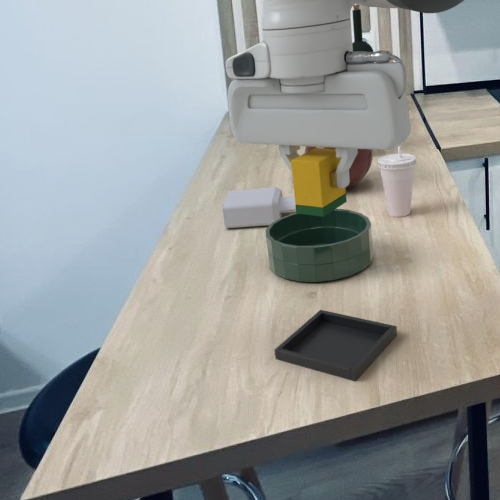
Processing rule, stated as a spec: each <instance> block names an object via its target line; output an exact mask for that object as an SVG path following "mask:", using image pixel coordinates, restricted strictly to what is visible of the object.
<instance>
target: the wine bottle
mask: <svg viewBox="0 0 500 500" xmlns="http://www.w3.org/2000/svg"><path fill="white" fill-rule="evenodd" d="M352 8H353V9H351V10H352V11H351V12H352V25H353V41H352V46H353V52H359V51H365V52H374V49H373V47H372V46H371V44H370V43H368V42H366V41H364V40H363V27H362V26H363V24H362V10H361V8H360V5H359V4H355V5H353V6H352ZM370 63H375V62H370Z"/></svg>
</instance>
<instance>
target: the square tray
mask: <svg viewBox="0 0 500 500" xmlns="http://www.w3.org/2000/svg"><path fill="white" fill-rule="evenodd" d="M397 336H398V326H397V325H392V324H389V323H383V322H379V321H374V320H371V319H365V318H360V317H356V316H352V315H347V314H342V313H339V312H333V311H328V310H325V309H324V310H323V309H319V310H318V311H317V312H316V313H315V314H314V315H313V316H311V318H309V319H308V320H307V321H306V322H304V323H303V324H302V325H301V326H300V327H298V328H297V329H296V330H295V331H294V332H293V333H292V334H290V336H289V337H287V338H286V339H285V340H283V342H281V343H280V344H279V345H278V346H277V347H276V348H274V350H273V351H274V357H275V360H277V361H281V362H285V363H288V364H291V365H295V366H298V367H303V368H306V369H309V370H313V371H316V372H320V373H324V374H327V375H330V376H335V377H338V378H342V379H344V380H348V381H352V382H357V381H358V379H360V377H362V375H363V374H364V373H365V372H366V371H367V370H368V369H369V368H370V366H372V364H373V363H374V362H375V361H376V360H377V359H378V358H379V356H380V355H381V354H382V353H383V352H384V351H385V350H386V349H387V347H389V345H391V343H392V342H393V341H394V340H395V339H396V338H397Z"/></svg>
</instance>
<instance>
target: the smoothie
mask: <svg viewBox="0 0 500 500" xmlns="http://www.w3.org/2000/svg"><path fill="white" fill-rule="evenodd" d="M417 164H418V162H417V156H416V155H414V154H411V153H402V144H401V145H400V146H398V147H397V153H393V154H387V155H383V156H381V157H379V158H378V159H377V167H378V168H379V170H380V175H381V177H380V178H381V182H382V186H383V192H384V197H385V202H386V208H387V214H388V215H389V216H390V217H393V218H402V217H407V216H409V215H410V214H411V209H412V199H413V187H414V178H415V177H414V176H415V167H416V165H417Z"/></svg>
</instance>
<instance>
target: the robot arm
mask: <svg viewBox="0 0 500 500" xmlns="http://www.w3.org/2000/svg"><path fill="white" fill-rule="evenodd" d="M464 1H465V0H262V17H261V34H262V35H261V36H262V41H261V42H259V43H257V44H255V45H252V46H251V47H249V48H246V49H245V50H242V51H240V52H238V53H235V54H234V55H232V56H230V57H228V58H227V59H226V60H225V71H226V75H227V77H228V78H230V79H231V80H232V81H231V82H230V84H229V86H228V89H227V106H228V117H229V124H230V125H229V126H230V129H231V134H232V136H233V137H234V138H235V139H236V141H237V142H238V143H240V144H251V145H252V144H253V145H274V146H278V150H279V155H280V157H281V159H282V160H283V161H284V164H286V166H287V168H288V169H289V170H290V178H291V183H292V184H293V176H292V166H291V160H292V159H295V158H297V157H299V156H300V154H299V153H298V151H300V150H301V147H306V146H311V147H331V148H335V149H336V157H337V158H341V160H340V163H339V165H338V167H337V168H336V169H334V170H333V171H331V172H329V178H330V180H331V181H330V186H331V187H333V188H345V187H347V186H348V185H349V182H350V179H349V169H350V167H351V165H352V163H353V161H354V159H355V157H356V155H357V153H358V150H357V149H371V150H374V151H393V150H395V149H398V146H400V145H401V146H402V145H404V143H405V142H406V141H407V140H408V138H409V137H410V135H411V130H412V128H411V116H410V109H409V104H408V97H407V92H406V90H407V86H408V85H407V84H408V82H407V81H408V79H407V76H408V75H407V66H406V64H405V63H404V62H403V60H402V59H401V58H400V57H399V56H398V55H395V54H393V53H392V52H391V51H390V50H386V49H385V50H383V49H381V50H377V51H373V52H365V51H359V52H353V46H352V43H353V35H352V34H353V33H352V18H351V12H352V11H351V10H352V8H353V5H359V6H361V7H362V6H363V7H367V8H368V7H369V8H381V9H402V10H407V11H411V12H415V13H416V12H417V13H422V14H439V13H443V12H446V11H449V10H452V9H453V8H456V7H457V6H458V5H460V4H461V3H463V2H464ZM392 60H393V61H392ZM370 62H374V63H370Z"/></svg>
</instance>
